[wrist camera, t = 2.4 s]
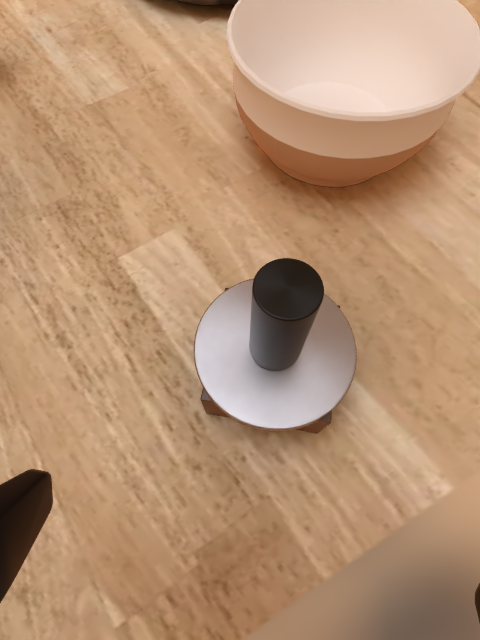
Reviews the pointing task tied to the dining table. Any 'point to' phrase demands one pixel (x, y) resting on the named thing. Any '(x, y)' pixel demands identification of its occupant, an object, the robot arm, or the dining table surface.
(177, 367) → the dining table surface
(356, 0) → the bowl
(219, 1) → the electronic game
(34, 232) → the dining table surface
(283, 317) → the lid
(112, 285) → the dining table surface
